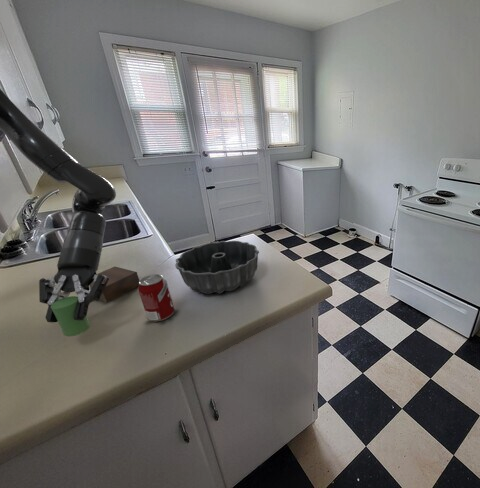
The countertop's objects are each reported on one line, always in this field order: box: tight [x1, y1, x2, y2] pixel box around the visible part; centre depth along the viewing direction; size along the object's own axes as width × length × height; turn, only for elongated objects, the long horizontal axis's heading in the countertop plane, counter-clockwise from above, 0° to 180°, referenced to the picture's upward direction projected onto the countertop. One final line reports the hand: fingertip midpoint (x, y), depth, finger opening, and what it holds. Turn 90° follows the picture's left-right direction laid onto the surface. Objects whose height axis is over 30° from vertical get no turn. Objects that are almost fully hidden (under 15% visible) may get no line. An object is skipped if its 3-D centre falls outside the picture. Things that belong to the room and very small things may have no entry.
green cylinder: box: [51, 295, 91, 337], centre depth 63 cm, size 5×5×8 cm
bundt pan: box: [174, 240, 260, 295], centre depth 93 cm, size 26×26×10 cm
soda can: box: [137, 273, 175, 322], centre depth 75 cm, size 7×7×12 cm
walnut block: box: [90, 266, 140, 303], centre depth 89 cm, size 11×11×5 cm
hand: (65, 320), depth 62 cm, fingers closed on green cylinder, 4 cm apart
